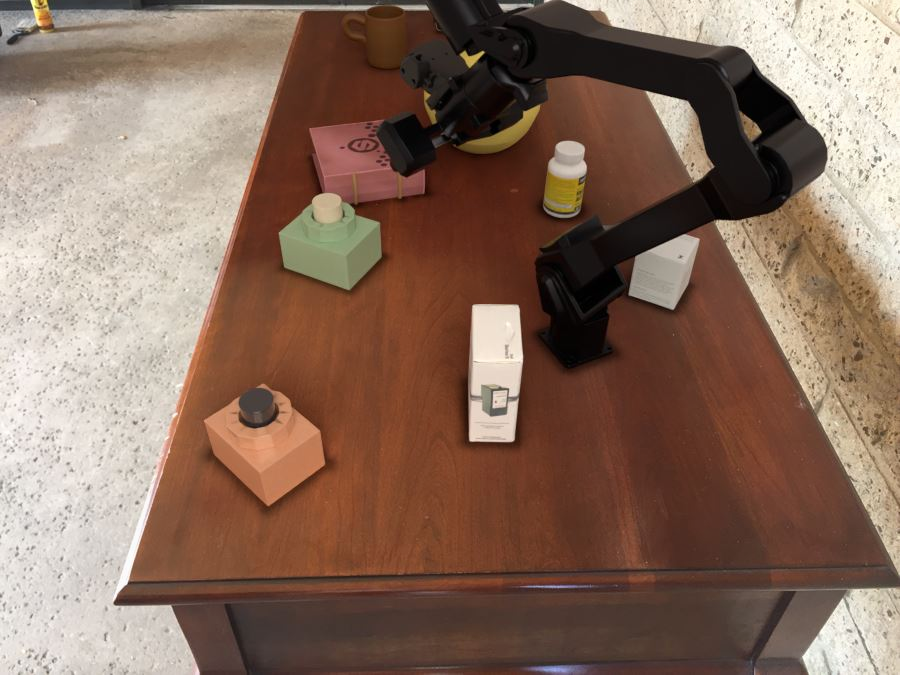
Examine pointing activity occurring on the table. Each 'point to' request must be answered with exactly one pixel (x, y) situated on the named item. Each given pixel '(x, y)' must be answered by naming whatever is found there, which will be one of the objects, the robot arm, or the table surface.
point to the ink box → (494, 372)
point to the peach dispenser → (267, 448)
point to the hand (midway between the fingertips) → (420, 154)
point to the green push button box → (331, 247)
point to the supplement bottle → (565, 180)
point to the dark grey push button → (257, 407)
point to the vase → (497, 140)
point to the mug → (380, 34)
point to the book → (359, 164)
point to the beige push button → (327, 208)
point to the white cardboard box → (664, 271)
